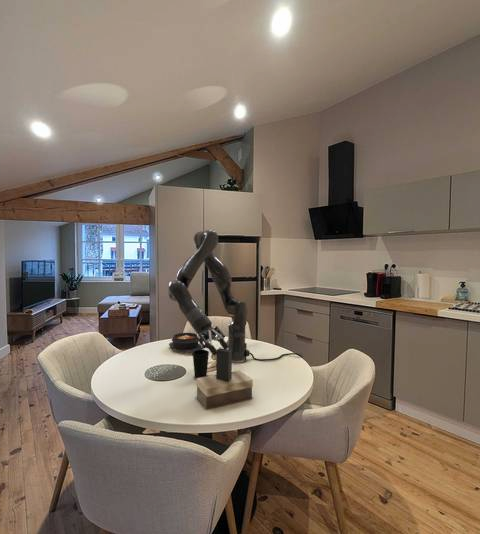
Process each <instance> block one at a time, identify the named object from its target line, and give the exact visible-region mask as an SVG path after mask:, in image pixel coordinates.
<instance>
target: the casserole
mask: <svg viewBox="0 0 480 534" xmlns="http://www.w3.org/2000/svg"><path fill="white" fill-rule="evenodd" d="M197 335H198V334H197V333H196V332H195V333H194V332H180V333H175V334H173V336H172V338H171V342H170V343H168V345H169V347H170V349H171V350H172V351H176V352H180V353H188V354H189V353H193V351H195V350H204V348H203V347H202V346H201V344H200V343H199V341H198V340H197V338H196V336H197Z"/></svg>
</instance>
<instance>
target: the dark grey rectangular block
mask: <svg viewBox="0 0 480 534" xmlns="http://www.w3.org/2000/svg"><path fill="white" fill-rule="evenodd" d="M216 350H217V351H218V353H217V354H216V355H215V360H216V362H215V365H216V366H215V367H216V369H215V375H216V379H219V380H223V381H227V382H229V381H230V380H231V379H232V372H233V370H232V367H233V365H232V350H228V348H227V349H224V348H223V347H219V348H216Z"/></svg>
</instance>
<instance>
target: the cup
mask: <svg viewBox="0 0 480 534" xmlns="http://www.w3.org/2000/svg"><path fill="white" fill-rule="evenodd" d="M209 354H210V351H209V350H207V349H202V350H195V351H193V352H192V362H193V363H192V364H193V372H194V373H193V374H194V379H196V380H197V378H201V377H206V376H208V366H209V357H210V356H209Z"/></svg>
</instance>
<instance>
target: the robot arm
mask: <svg viewBox="0 0 480 534" xmlns="http://www.w3.org/2000/svg"><path fill="white" fill-rule="evenodd" d="M193 242H194V243H193V244H194V246H195V248H196V251H195V252H194V253H193V254H192V255H191V256H190V257H189V258H187V260H186V261H185V262H184V263H183V264H182V266H181V267H180V269H179V271H178V273H177V275H176V279H174V280H172V281H170V282H169V285H168V297H169V299H170V300H171V301H173V302H177V304H178V307H179V310H180V311H181V313H182V314H183V315H184V317H185V318H186V320H187V322H188V323H189V325H190V326H191V327H192V329H193V330H194V331H195V334H197V336H196V338H197V340H198V341H199V342H198V343H199V344H200V345H201V346H202V347H203V349H206V350H207V349H208V351H209V353H211V354H212V356H215V357H216V354H217V353H218V351H217V348H216V347H215V346H214V344H213V342H212V341H214V342H218V343H219V344H220V346H221V348H222V349H228V350H232V363H233V364H240V363H244V362H245V361H247V358H248V357H250V356H251V357H252V359H253V360H254V361H259V362H264V361H265V362H267V361H276V360H280V359H281V358H282V357H285V356H292V355H293V356H297V357H300V358H303V355H302V354H300V353H297V352H289V353H282V354H280V355H279V356H277V357H273V358H256V357H255V356H254V354H253V353H252V352H251V351H250V350H249V349H247V347H248V346H247V345H248V343H246V327H247V321H248V304H247V303H246V302H245V301H244V300H241V299H236V298H235V296H234V295H233V292H232V275H231V273H230V271H229V269H228V267H227V266H226V264H225V263H223V261H222V260H220V259H219V258H218V257H217V256H216V255H215V254H214V252H213V251H214V249H215V248H216V247H217V246H218V243H219V235H218V233H217V232H216V231H215V230H214V229H213V230H212V229H207V230H202V231H197V232H195V233H194V235H193ZM203 263H204V264H205V266H206V268H207V270H208V272H209V275H210V276H211V279H212V281H213V283H214V285H215V287H216V289H217V292H218V294H219V296H220V299H221V301H222V302H221V303H222V304H223V307H224V310H225V312H226V314H227V315H228V316H230V317H231V316H234V322H232V321H231V322H230V323H228V325H227V326H228V328H227V341H228V345H227V343H226V342H227V341H226V340H225V338H226V335H225V334H224V332H222V330H221V328H219V326H215V327H213V326H212V324H213V323H212V321H211V320H210V319H209V317H208V316H207V314H206V313H205V311H204V310H203V309H202V308H201V307H200V306H199V305H198V304H197V302H196V300H194V298H193V297H192V295H191V293H190V291H189V287H190V284H191V283H192V281H193V279H194V277H195V276H196V274H197V272H198V271H199V269H200V268H201V266H202V265H203Z"/></svg>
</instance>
